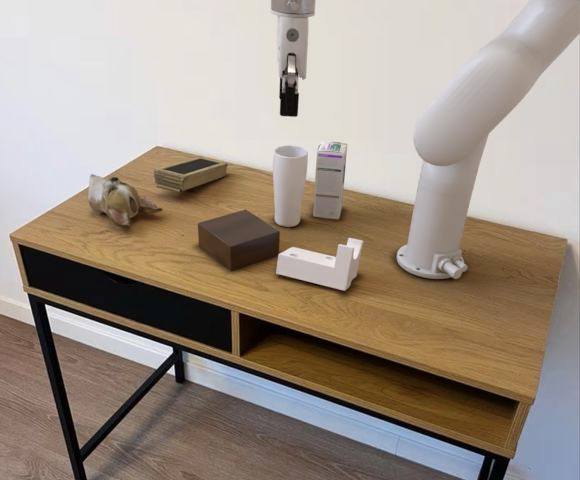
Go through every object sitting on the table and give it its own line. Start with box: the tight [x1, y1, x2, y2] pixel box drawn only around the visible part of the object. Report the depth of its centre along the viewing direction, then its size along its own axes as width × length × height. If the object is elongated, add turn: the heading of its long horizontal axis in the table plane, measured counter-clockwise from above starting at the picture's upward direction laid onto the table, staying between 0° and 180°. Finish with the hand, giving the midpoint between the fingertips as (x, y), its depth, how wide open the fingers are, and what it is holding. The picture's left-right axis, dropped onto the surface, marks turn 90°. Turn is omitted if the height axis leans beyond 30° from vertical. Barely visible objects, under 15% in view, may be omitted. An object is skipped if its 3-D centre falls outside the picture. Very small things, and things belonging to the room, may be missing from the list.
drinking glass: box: [272, 145, 309, 228], centre depth 127 cm, size 7×7×15 cm
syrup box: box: [312, 140, 348, 220], centre depth 132 cm, size 6×6×14 cm
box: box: [153, 155, 229, 194], centre depth 144 cm, size 8×22×5 cm, turn 156°
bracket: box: [275, 237, 364, 292], centre depth 113 cm, size 13×7×8 cm, turn 68°
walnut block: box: [197, 208, 281, 272], centre depth 120 cm, size 11×11×5 cm
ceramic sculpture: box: [87, 173, 164, 228], centre depth 127 cm, size 11×9×15 cm
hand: (288, 107), depth 118 cm, fingers open, 9 cm apart
